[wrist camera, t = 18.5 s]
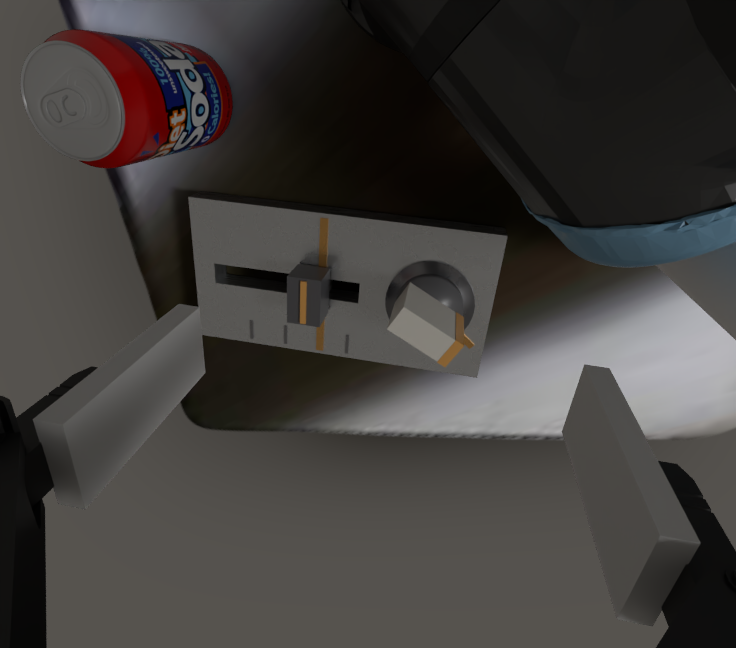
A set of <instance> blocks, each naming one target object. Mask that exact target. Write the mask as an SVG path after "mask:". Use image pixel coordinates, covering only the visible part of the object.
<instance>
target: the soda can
mask: <svg viewBox="0 0 736 648" xmlns="http://www.w3.org/2000/svg"><path fill="white" fill-rule="evenodd" d="M20 87H21V95H22V100H23V103H24V107H25V110H26V112H27V115H28V117H29V119H30V121H31V123H32V124H33V126H34V127H35V129H36V130H37V132H38V133H39V134H40V136H41V137H42V138H43V139H44V140H45V141H46V142H47V143H48V144H49V145H50V146H51V147H53V148H54V149H55V150H56V151H58V152H59V153H61V154H63V155H65V156H67V157H69V158H72V159H75V160H79V161H81V162H83V163H85V164H87V165H90V166H94V167H99V168H116V167H121V166H126V165H130V164H134V163H138V162H142V161H146V160H150V159H154V158H158V157H162V156H166V155H170V154H174V153H178V152H182V151H186V150H190V149H194V148H198V147H202V146H205V145H208V144H210V143H212V142H214V141H216V140H217V139H218V138H219V137H220V136H221V135H222V134H223V133H224V132H225V130H226V129H227V127H228V125H229V122H230V119H231V115H232V108H233V101H232V93H231V89H230V85H229V82H228V80H227V78H226V76H225V74H224V72H223V70H222V69H221V67H220V66H219V65H218V63H217V62H216V61H215V60H214V59H213V58H212V57H211V56H209V55H208V54H207V53H205V52H204V51H202V50H200V49H198V48H196V47H194V46H191V45H186V44H181V43H174V42H167V41H160V40H153V39H145V38H138V37H131V36H124V35H117V34H110V33H103V32H96V31H89V30H78V29H74V30H66V31H61V32H59V33H56V34H54V35H52V36H51V37H50V38H48V39H47V40H46V41H45V42H44V43H42V44H40V45H38V46H37V47H35V48H34V49H33V50H32V51H31V52H30V53H29V55H28V56H27V58H26V60H25V62H24V65H23V67H22V72H21V80H20Z"/></svg>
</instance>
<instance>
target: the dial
mask: <svg viewBox="0 0 736 648" xmlns="http://www.w3.org/2000/svg"><path fill="white" fill-rule="evenodd" d="M387 330H389V331H390V332H392V333H394V334H395V335H397V336H398V337H400V338H401V339H403V340H404V341H406V342H408V343H409V344H411V345H412V346H414V347H415V348H417V349H418V350H420V351H421V352H423V353H425V354H426V355H428V356H429V357H431V358H432V359H434V360H435V361H437V363H439V364H440V365H442V366H443V367H446V366H447V365H448V364H449V363H450V361H451V360H452V359H453V358H454V357H455V356H456V355H457V354H458V352H459V351H460V350H461V349H462V348H463V347H464V317H463V298H462V295H461V292H460V291H459V289H458V288H457V286H456V285H455V284H454V283H453V282H452V281H450V280H449V279H447V278H445V277H443V276H440V275H437V274H422V275H418V276H415V277H413V278H411V279H410V280H408V281H407V282H406V283H405V284H404V285H403V286H402V287H401V289H400V290H399V292H398V295H397V298H396V302H395V303H394V307H393V310H392V314H391V317H390V320H389V324H388V327H387Z"/></svg>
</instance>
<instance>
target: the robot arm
mask: <svg viewBox="0 0 736 648" xmlns="http://www.w3.org/2000/svg"><path fill="white" fill-rule="evenodd" d="M341 2H342V4H343V6H344V7H345V9H346V10H347V12H348V13H349V14H350V16H351V17H352V18H353V20H354V21H355V22H356V23H357V24H358V25H359V26H360V27H361V28H362V29H363V30H364V31H365V32H366V33H367V34H368V35H370V36H371V37H372V38H374V39H375V40H377V41H378V42H380V43H381V44H383V45H385V46H387V47H389V48H391V49H393V50H396V51H398V52H402V53H404V54H405V56H406V57H407V58H408V59H409V60H410V61H411V63H412V64H413V65H414V66H415V67H416V69H417V70H418V71H419V72H420V74H421V75H422V76H423V77H424V78H425V80H426V81H427V82H428V85H429V86H430V87H431V89H432V90H433V91H434V92H435V93H436V95H437V96H438V97H439V98H440V100H441V101H442V102H443V103H444V104H445V106H446V107H447V108H448V109H449V111H450V112H451V113H452V114H453V115H454V117H455V118H456V119H457V120H458V122H459V123H460V124H461V125H462V126H463V128H464V129H465V130H466V131H467V133H468V134H469V135H470V136H471V137H472V139H473V140H474V141H475V142H476V143H477V145H478V146H479V147H480V148H481V150H482V151H483V152H484V153H485V154H486V156H487V157H488V158H489V159H490V161H491V162H492V163H493V164H494V165H495V167H496V168H497V169H498V170H499V172H500V173H501V174H502V175H503V176H504V178H505V179H506V180H507V181H508V183H509V184H510V185H511V186H512V187H513V189H514V190H515V191H516V192H517V194H518V195H519V196H520V197H521V199H522V202H523V204H524V206H525V207H526V209H527V210H528V212H529V213H530V214H533V215H534V217H535V218H536V220H538V221H540V222H541V223H543V224H544V225H546V226H548V227H549V228H550V229H551V231H552V232H553V233H554V234H555V235H556V236H557V237H558V238H559V239H560V240H561V241H562V243H563V244H564V245H565V246H566V247H567V248H568V249H569V250H571V251H572V252H573V253H575V254H576V255H578V256H580V257H581V258H583V259H585V260H588V261H591V262H594V263H597V264H601V265H606V266H614V267H642V266H652V265H659V264H666V263H671V262H676V261H680V260H684V259H688V258H692V257H695V256H699V255H702V254H705V253H708V252H711V251H714V250H716V249H719V248H722V247H724V246H727V245H729V244H732V243H734V242H736V0H341ZM204 374H205V364H204V353H203V342H202V331H201V320H200V309H199V307H196V306H189V305H182V304H178V305H177V306H176V307H174V308H173V309H172V310H171V311H169V312H168V313H167V314H166V315H164V316H163V317H162V318H160V319H159V320H158V321H157V322H155V323H154V324H153V325H152V326H150V327H149V328H148V329H147V330H145V331H144V332H143V333H142V334H140V335H139V336H138V337H136V338H135V339H134V340H133V341H131V342H130V343H129V344H128V345H126V346H125V347H124V348H123V349H121V350H120V351H119V352H117V353H116V354H115V355H114V356H112V357H111V358H110V359H109V360H107V361H106V362H105V363H104V364H102V365H101V366H100V367H98V368H97V367H89V368H87V369H85V370H83V371H80V372H78V373H76V374H74V375H72V376H71V377H70V378H68V379H67V380H66V381H64V382H63V383H62V384H60V387H57V388H55V389H54V390H52V391H51V392H50V393H49V395H48V396H47V395H46V396H44V397H43V398H42V399H41V400H39V401H38V402H37V403H35V404H34V405H33V406H31V407H30V408H29V409H27V410H26V411H25V412H23V413H22V414H21V415H19V416H18V417H17V418H16V416H15V413H14V411H13V407H12V404H11V402H10V400H9V399H7V398H5V397H3V396H0V648H46V569H45V568H46V562H45V560H46V558H45V507H44V503H43V500H42V498H43V497H44V496H45V495H46V494H47V493H48V492H49V491H50V490H51V489H52V488H54V491H55V494H56V498H57V501H58V504H61V505H66V506H71V507H76V508H81V509H86V508H87V507H88V506H89V505H90V504H91V503H92V501H93V500H94V499H95V498H96V497H97V496H98V494H99V493H100V492H101V491H102V490H103V489H104V488H105V486H106V485H107V484H108V483H109V482H110V481H111V480H112V479H113V477H114V476H115V475H116V474H117V473H118V472H119V471H120V469H121V468H122V467H123V466H124V465H125V464H126V463H127V461H128V460H129V459H130V458H131V457H132V456H133V455H134V453H135V452H136V451H137V450H138V449H139V448H140V447H141V445H142V444H143V443H144V442H145V441H146V440H147V439H148V437H149V436H150V435H151V434H152V433H153V432H154V431H155V430H156V428H157V427H158V426H159V425H160V424H161V423H162V422H163V420H164V419H165V418H166V417H167V416H168V415H169V413H170V412H171V411H172V410H173V409H174V408H175V407H176V406H177V404H178V403H179V402H180V401H181V400H182V399H183V398H184V396H185V395H186V394H187V393H188V392H189V391H190V390H191V388H192V387H193V386H194V385H195V384H196V383H197V382H198V380H199V379H200V378H201V377H202V376H203V375H204ZM562 433H563V437H564V440H565V444H566V447H567V450H568V454H569V457H570V461H571V464H572V467H573V471H574V474H575V478H576V481H577V485H578V488H579V491H580V495H581V498H582V501H583V505H584V508H585V512H586V515H587V519H588V522H589V525H590V529H591V532H592V536H593V539H594V542H595V546H596V549H597V552H598V556H599V560H600V563H601V566H602V570H603V573H604V577H605V580H606V584H607V587H608V590H609V594H610V597H611V601H612V604H613V608H614V611H615V614H616V618H617V619H619V620H624V621H629V622H633V623H639V624H643V625H649V626H653V625H654V623H655V621H656V619H657V618H658V616H659V614H660V613H661V611H663V613H664V616H665V618H666V621H667V624H668V626H669V628H668V630H667V631H666V633H665V634H664V636H663V638H662V639H661V641H660V642H659V644H658V645H657V647H656V648H736V551H735V549H734V548H733V546H732V544H731V543H730V541H729V539H728V537H727V536H726V534H725V533H724V531H723V529H722V527H721V526H720V524H719V522H718V520H717V519H716V517H715V515H714V514H713V513H711V509H710V507H709V505H708V503H707V502H706V500H705V499H703V495H702V493H701V492H700V490H699V488H698V486H697V485H696V483H695V481H694V480H693V479H692V478H691V477H690V476H689V475H688V474H687V473H686V472H685V471H684V470H683V469H681V467H679V466H678V465H677V464H673V463H667V462H661V461H657V459H656V457H655V455H654V453H653V451H652V449H651V447H650V445H649V443H648V441H647V439H646V438H645V436H644V434H643V432H642V430H641V428H640V426H639V424H638V422H637V420H636V418H635V417H634V415H633V413H632V411H631V409H630V407H629V405H628V403H627V401H626V399H625V397H624V395H623V394H622V392H621V390H620V388H619V386H618V384H617V382H616V380H615V378H614V376H613V374H612V373H611V371H610V369H609V368H604V367H597V366H590V365H584V368H583V371H582V374H581V377H580V380H579V383H578V386H577V389H576V392H575V395H574V398H573V401H572V404H571V407H570V410H569V413H568V415H567V418H566V421H565V424H564V427H563V430H562Z"/></svg>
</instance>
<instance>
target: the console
mask: <svg viewBox="0 0 736 648" xmlns="http://www.w3.org/2000/svg"><path fill="white" fill-rule="evenodd" d="M188 199H189V210H190V221H191V232H192V243H193V253H194V264H195V275H196V286H197V297H198V307H199V309H200V320H201V331H202V335H207V336H214V337H220V338H227V339H233V340H239V341H246V342H252V343H258V344H265V345H271V346H278V347H284V348H290V349H297V350H303V351H310V352H316V353H322V354H329V355H335V356H342V357H348V358H354V359H361V360H367V361H374V362H380V363H386V364H393V365H399V366H406V367H412V368H418V369H425V370H431V371H438V372H444V373H450V374H457V375H463V376H470V377H476V378H477V375H478V370H479V366H480V361H481V356H482V352H483V347H484V343H485V338H486V333H487V329H488V324H489V320H490V315H491V310H492V306H493V301H494V296H495V292H496V287H497V283H498V278H499V273H500V269H501V264H502V260H503V255H504V250H505V246H506V241H507V232H506V229H505V228H502V227H494V226H485V225H477V224H469V223H461V222H452V221H444V220H436V219H427V218H419V217H411V216H402V215H394V214H386V213H378V212H369V211H361V210H353V209H344V208H336V207H328V206H319V205H311V204H303V203H295V202H286V201H278V200H270V199H261V198H253V197H245V196H236V195H228V194H220V193H211V192H203V191H201V192H199V193H196V194H194V195H192V196H189V197H188ZM297 264H303V265H310V266H317V267H325V268H330V279H331V280H338V281H346V282H353V283H360V287H359V292H352V291H345V290H338V289H331V290H330V291H329V308H328V314H327V315H326V317H325V319H324V321H323V322H322V324H321V326H320V327H314V326H307V325H301V324H294V323H287V282H281V281H274V280H267V279H260V278H253V277H245V276H238V275H231V274H227V272H226V265H230V266H237V267H244V268H251V269H259V270H266V271H273V272H280V273H288V274H289V273H290V272H291V271H292V270H293V269H294V268H295V267H296V266H297ZM422 274H437V275H440V276H443V277H445V278H447V279H449V280H450V281H452V282H453V283H454V284H455V285H456V286H457V288H458V289H459V291H460V292H461V295H462V298H463V317H464V347H463V348H462V349H461V350H460V351H459V352H458V354H457V355H456V356H455V357H454V358H453V359H452V360H451V361H450V363H449V364H448V365H447V366H446V367H443V366H442V365H440V364H439V363H437V361H435V360H434V359H432V358H431V357H429V356H428V355H426V354H425V353H423V352H421V351H420V350H418V349H417V348H415V347H414V346H412V345H411V344H409V343H408V342H406V341H404V340H403V339H401V338H400V337H398V336H397V335H395V334H394V333H392V332H390V331H389V330H387V327H388V324H389V320H390V317H391V314H392V310H393V307H394V303H395V302H396V298H397V295H398V292H399V290H400V289H401V287H402V286H403V285H404V284H405V283H406V282H407V281H408V280H410V279H411V278H413V277H415V276H418V275H422Z"/></svg>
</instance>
